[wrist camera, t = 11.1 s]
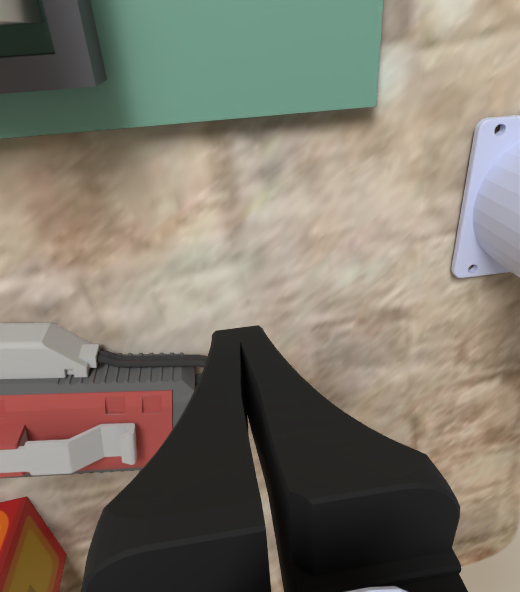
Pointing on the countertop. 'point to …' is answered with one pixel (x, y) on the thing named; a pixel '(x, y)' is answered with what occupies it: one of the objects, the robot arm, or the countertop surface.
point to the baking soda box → (28, 550)
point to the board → (184, 62)
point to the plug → (19, 12)
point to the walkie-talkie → (84, 402)
